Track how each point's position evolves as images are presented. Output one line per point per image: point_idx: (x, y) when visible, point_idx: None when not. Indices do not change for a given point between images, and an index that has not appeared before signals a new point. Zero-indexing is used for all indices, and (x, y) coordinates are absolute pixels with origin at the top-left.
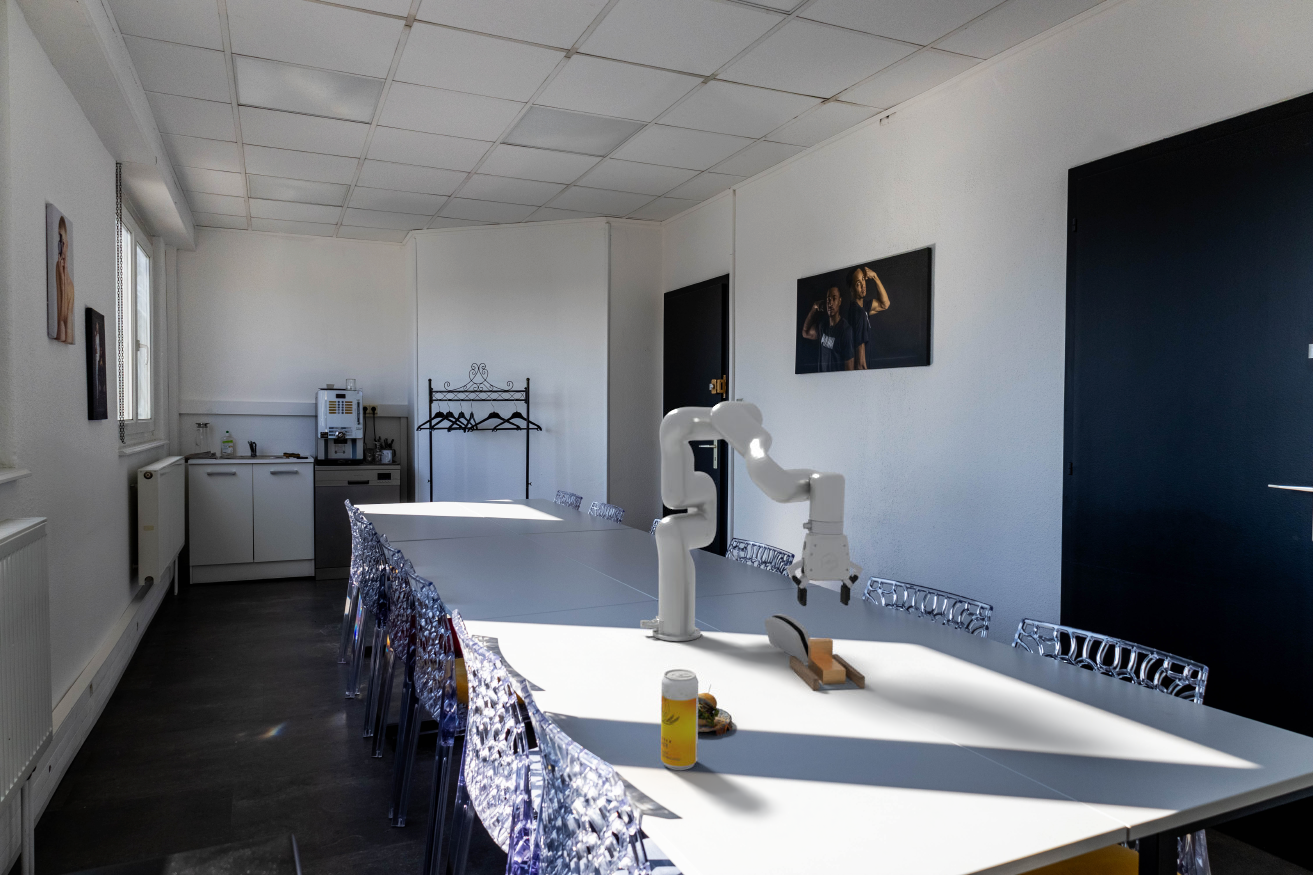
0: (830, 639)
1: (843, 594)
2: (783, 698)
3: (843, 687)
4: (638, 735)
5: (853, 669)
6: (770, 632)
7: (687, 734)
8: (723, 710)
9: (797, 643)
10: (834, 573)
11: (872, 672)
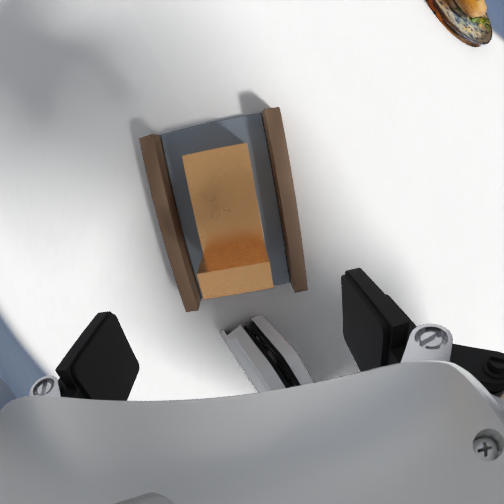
0: (203, 284)
1: (106, 366)
2: (347, 68)
3: (198, 127)
4: (496, 11)
5: (158, 193)
6: None
7: None
8: (443, 12)
9: (282, 338)
10: (89, 457)
11: (118, 253)
